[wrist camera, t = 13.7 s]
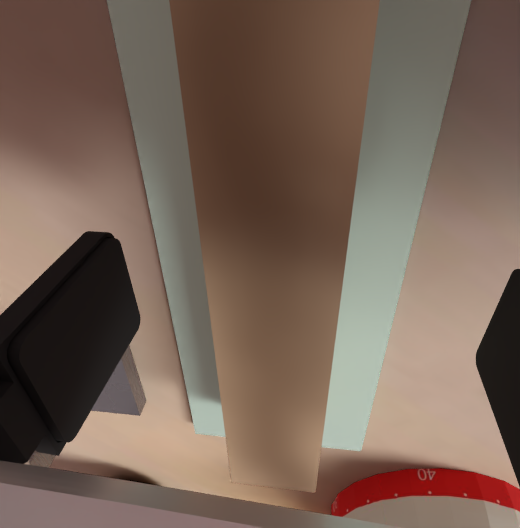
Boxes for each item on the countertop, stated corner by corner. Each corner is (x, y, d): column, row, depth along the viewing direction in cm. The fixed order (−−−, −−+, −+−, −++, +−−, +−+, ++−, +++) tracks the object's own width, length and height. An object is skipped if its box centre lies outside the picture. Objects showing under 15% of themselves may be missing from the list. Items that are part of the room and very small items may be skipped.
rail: (415, -514, 6) (512, -1020, 3) (315, 416, 21) (315, 492, 18) (179, -476, 7) (54, -884, 4) (244, 409, 22) (231, 482, 19)
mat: (693, -974, 5) (736, -1083, 4) (360, 441, 23) (361, 451, 23) (-37, -783, 6) (-68, -851, 5) (198, 424, 24) (195, 433, 24)
